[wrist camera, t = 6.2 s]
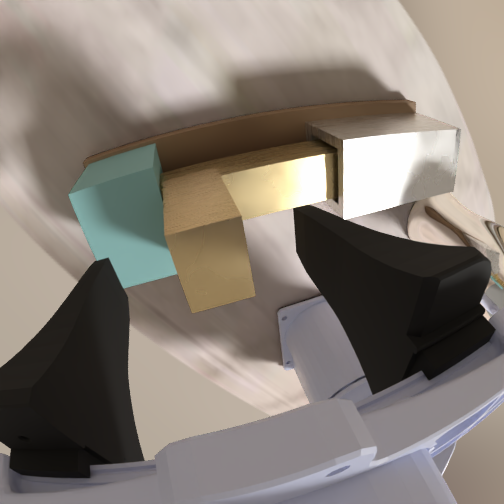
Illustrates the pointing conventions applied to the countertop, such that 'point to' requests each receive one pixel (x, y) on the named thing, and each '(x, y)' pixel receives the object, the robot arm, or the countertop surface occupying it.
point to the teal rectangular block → (125, 215)
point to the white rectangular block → (388, 159)
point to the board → (249, 132)
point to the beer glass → (462, 238)
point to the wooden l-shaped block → (236, 212)
